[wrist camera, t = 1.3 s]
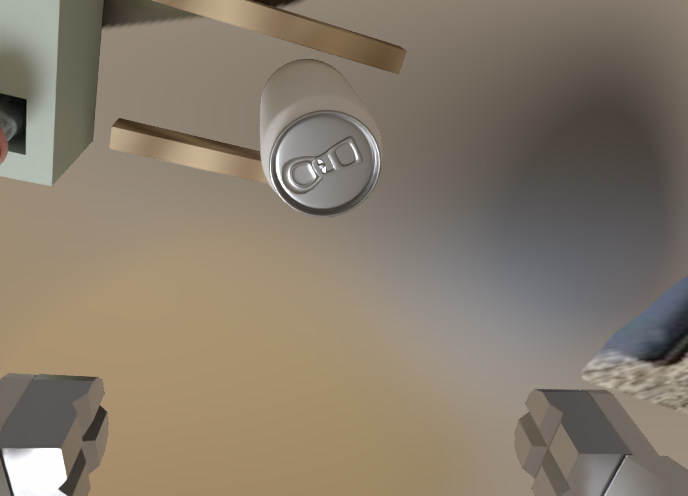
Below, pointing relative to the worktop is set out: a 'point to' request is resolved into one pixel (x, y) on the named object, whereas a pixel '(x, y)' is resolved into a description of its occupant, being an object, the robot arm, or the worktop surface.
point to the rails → (241, 10)
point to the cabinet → (50, 82)
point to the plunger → (11, 121)
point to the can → (317, 140)
